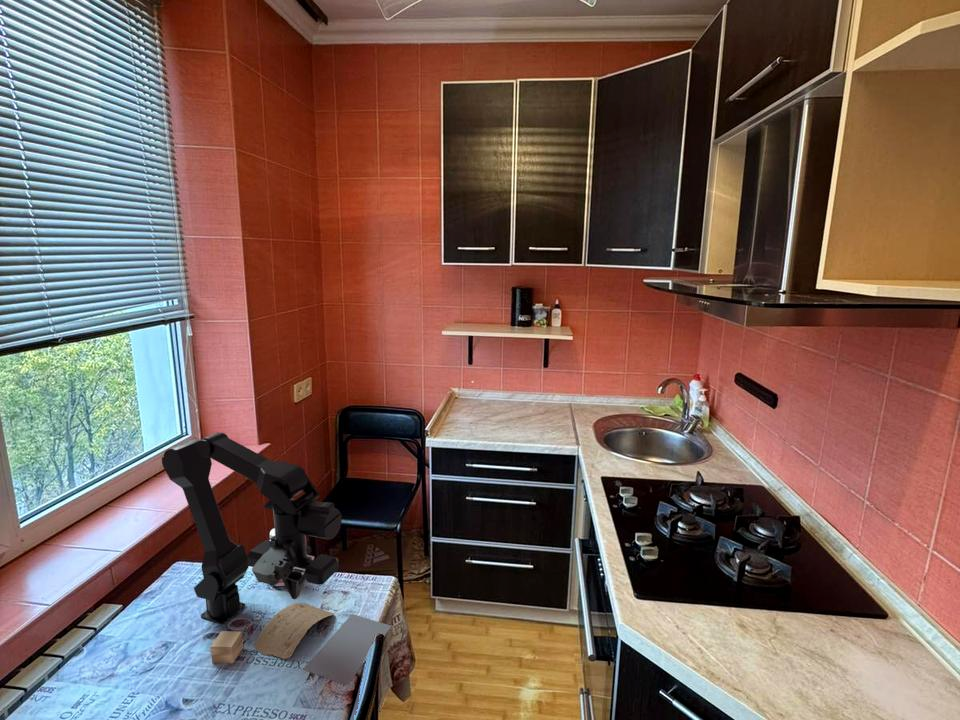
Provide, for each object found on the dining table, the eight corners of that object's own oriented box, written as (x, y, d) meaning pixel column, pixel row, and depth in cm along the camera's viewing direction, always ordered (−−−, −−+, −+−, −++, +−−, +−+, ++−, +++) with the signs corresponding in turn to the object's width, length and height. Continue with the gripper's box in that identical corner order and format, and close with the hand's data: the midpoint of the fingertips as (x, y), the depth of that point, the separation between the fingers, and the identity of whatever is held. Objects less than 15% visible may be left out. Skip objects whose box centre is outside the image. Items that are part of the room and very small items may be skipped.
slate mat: (302, 670, 93) (302, 669, 93) (352, 615, 108) (352, 613, 108) (347, 686, 90) (346, 685, 90) (391, 627, 104) (391, 625, 104)
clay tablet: (289, 662, 95) (288, 650, 94) (250, 647, 98) (249, 635, 98) (337, 614, 108) (336, 603, 107) (301, 602, 111) (300, 592, 111)
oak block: (212, 664, 94) (210, 646, 94) (223, 648, 98) (221, 631, 97) (233, 665, 94) (231, 647, 94) (243, 648, 98) (241, 631, 97)
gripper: (221, 540, 94) (229, 612, 97) (300, 561, 87) (305, 637, 90) (265, 513, 104) (270, 579, 107) (338, 530, 98) (342, 599, 101)
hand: (295, 597), depth 101 cm, fingers closed
